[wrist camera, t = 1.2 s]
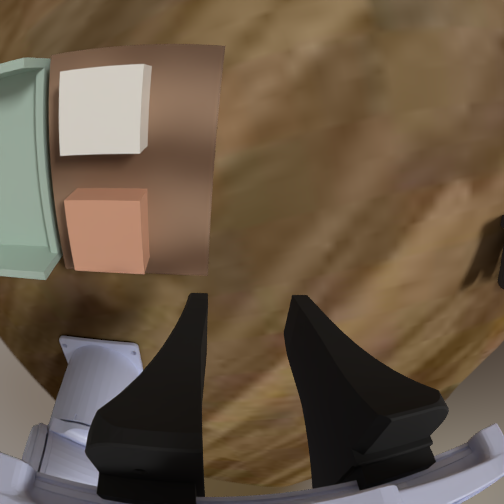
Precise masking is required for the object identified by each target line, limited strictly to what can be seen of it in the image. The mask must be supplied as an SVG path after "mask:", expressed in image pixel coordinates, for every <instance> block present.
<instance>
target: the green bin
mask: <svg viewBox="0 0 504 504" xmlns="http://www.w3.org/2000/svg"><path fill="white" fill-rule="evenodd" d="M50 61H51V59H46V58H21V59H17V60H13V61H9V62H6V63H2V64H0V276H8V277H18V278H29V279H40V280H46V279H47V278H48V276H49V275H50V273H51V272H52V270H53V269H54V267H55V266H56V264H57V263H58V261H59V260H60V259H61V257H62V256H63V252H62V246H61V241H60V235H59V229H58V223H57V216H56V209H55V201H54V193H53V184H52V173H51V160H50V143H49V78H50Z"/></svg>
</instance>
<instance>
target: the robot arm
mask: <svg viewBox="0 0 504 504" xmlns="http://www.w3.org/2000/svg"><path fill="white" fill-rule="evenodd" d="M207 315H208V293H191V294H190V295H189V296H188V300H187V303H186V305H185V308H184V310H183V312H182V314H181V316H180V318H179V320H178V322H177V324H176V326H175V328H174V329H173V331H172V333H171V334H170V336H169V337H168V339H167V340H166V342H165V344H164V345H163V346H162V348H161V349H160V351H159V352H158V353H157V355H156V356H155V357H154V358H153V360H152V361H151V362H150V363H149V364H148V366H147V367H146V368H145V369H144V370H143V366H142V361H141V356H140V351H139V346H138V345H137V344H135V343H130V342H118V341H107V340H97V339H88V338H79V337H71V336H60V338H59V342H60V344H61V347H62V350H63V352H64V355H65V357H66V360H67V362H68V366H67V369H66V372H65V375H64V378H63V381H62V384H61V387H60V390H59V393H58V396H57V399H56V402H55V406H54V409H53V412H52V415H51V419H50V422H49V424H48V425H45V424H43V423H40V424H39V425H35V426H33V427H32V430H31V432H30V435H29V437H28V440H27V443H26V447H25V450H24V453H23V457H22V460H21V459H19V458H16V457H13V456H10V455H7V454H5V453H2V452H0V504H460V503H462V502H464V501H466V500H467V499H469V498H471V497H473V496H474V495H476V494H478V493H480V492H481V491H483V490H484V489H486V488H487V487H489V486H490V485H491V484H493V483H494V482H496V481H497V480H499V479H500V478H501V477H503V476H504V435H503V433H502V432H501V430H500V428H499V426H498V424H497V423H494V424H492V425H490V426H488V427H486V428H484V429H482V430H480V431H479V432H478V433H476V434H475V435H474V436H473V437H471V439H470V440H469V441H468V442H467V443H464V444H462V445H460V446H458V447H455V448H453V449H451V450H448V451H446V452H443V453H441V454H438V455H436V456H434V455H433V453H432V451H431V449H430V446H431V445H432V444H433V441H432V440H431V437H430V435H431V434H432V433H433V432H434V431H435V430H436V429H437V428H438V427H439V426H440V424H441V423H442V422H443V421H444V420H445V418H446V416H447V414H448V411H449V410H448V407H447V405H446V403H445V401H444V399H443V398H442V396H441V394H440V392H439V391H438V390H436V389H433V388H431V387H428V386H426V385H423V384H421V383H418V382H416V381H414V380H412V379H410V378H408V377H406V376H404V375H402V374H400V373H398V372H396V371H394V370H393V369H391V368H389V367H388V366H386V365H385V364H383V363H381V362H380V361H378V360H377V359H375V358H374V357H373V356H371V355H370V354H368V353H367V352H366V351H364V350H363V349H362V348H361V347H359V346H358V345H357V344H356V343H354V342H353V341H352V340H351V339H350V338H349V337H348V336H347V335H345V334H344V333H343V332H342V331H341V330H340V329H339V328H338V327H337V326H336V325H335V324H334V323H333V322H332V321H331V320H330V319H329V318H328V317H327V316H326V315H325V314H324V313H323V312H322V311H321V309H320V308H319V307H318V306H317V305H316V304H315V303H314V302H313V301H312V300H311V299H310V298H309V297H308V296H307V295H292V299H291V303H290V308H289V312H288V316H287V321H286V325H285V329H284V339H285V345H286V351H287V356H288V360H289V363H290V367H291V370H292V373H293V377H294V380H295V383H296V386H297V390H298V393H299V396H300V400H301V404H302V408H303V414H304V419H305V425H306V432H307V439H308V446H309V454H310V463H311V474H312V487H313V489H308V490H301V491H294V492H286V493H278V494H267V495H254V496H237V497H205V490H204V469H203V441H202V398H203V387H204V376H205V366H206V355H207ZM133 351H135V352H133Z"/></svg>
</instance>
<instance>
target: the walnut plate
mask: <svg viewBox="0 0 504 504" xmlns="http://www.w3.org/2000/svg"><path fill="white" fill-rule="evenodd" d="M224 52H225V46H218V45H197V44H151V45H130V46H116V47H105V48H96V49H88V50H80V51H73V52H67V53H61V54H55V55H51V61H50V78H49V143H50V160H51V173H52V184H53V193H54V201H55V209H56V216H57V223H58V229H59V235H60V241H61V246H62V252H63V257H64V262H65V267H66V269H75V268H74V263H73V257H72V252H71V246H70V240H69V234H68V228H67V221H66V213H65V205H64V200H65V199H66V198H67V197H68V196H69V195H70V194H71V193H72V192H74V191H75V190H76V189H77V188H140V189H147V199H148V232H149V252H150V258H149V261H148V264H147V267H146V270H145V273H156V274H179V275H205V276H208V257H209V236H210V218H211V201H212V186H213V172H214V158H215V145H216V133H217V122H218V111H219V100H220V90H221V80H222V71H223V61H224ZM131 64H146V65H150V66H152V71H151V84H150V99H149V118H148V146H147V147H146V148H145V149H144V150H143V151H142V152H141V153H140V154H91V155H68V156H60V144H59V83H60V72H61V71H68V70H75V69H83V68H92V67H103V66H115V65H131Z"/></svg>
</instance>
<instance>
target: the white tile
mask: <svg viewBox="0 0 504 504" xmlns="http://www.w3.org/2000/svg"><path fill="white" fill-rule="evenodd" d="M151 71H152V66H150V65H146V64H131V65H115V66H103V67H92V68H83V69H75V70H68V71H61V72H60V83H59V144H60V156H68V155H91V154H140V153H141V152H142V151H143V150H144V149H145V148H146V147H147V146H148V118H149V99H150V84H151Z"/></svg>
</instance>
